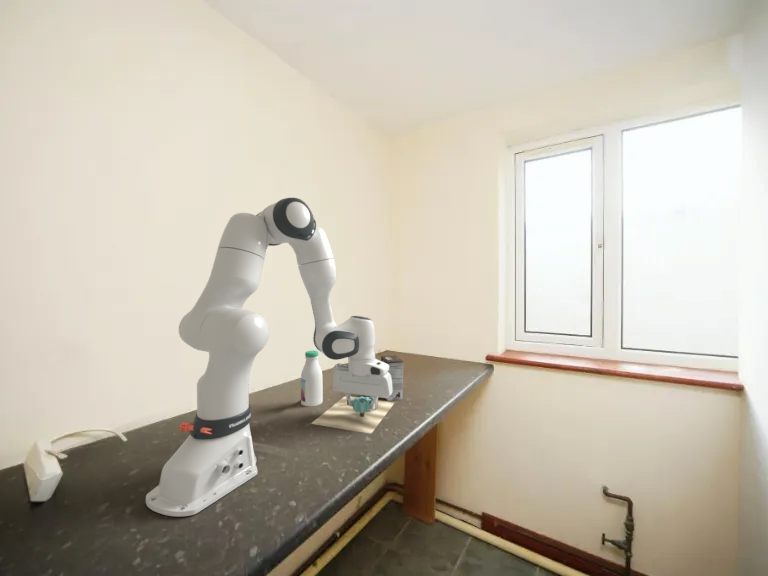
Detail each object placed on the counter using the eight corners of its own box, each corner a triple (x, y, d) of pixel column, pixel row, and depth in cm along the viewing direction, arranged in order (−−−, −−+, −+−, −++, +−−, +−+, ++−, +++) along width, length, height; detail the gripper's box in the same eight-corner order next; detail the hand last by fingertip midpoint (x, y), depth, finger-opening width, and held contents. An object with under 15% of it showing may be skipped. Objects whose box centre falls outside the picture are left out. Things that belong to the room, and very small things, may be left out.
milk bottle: (325, 402, 113) (325, 349, 113) (318, 410, 106) (318, 354, 105) (305, 401, 114) (305, 349, 114) (297, 409, 106) (297, 353, 106)
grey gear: (376, 412, 101) (376, 403, 101) (359, 410, 102) (359, 402, 102) (379, 405, 107) (379, 396, 107) (363, 404, 108) (363, 395, 108)
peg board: (371, 438, 86) (371, 416, 86) (310, 428, 93) (310, 407, 93) (394, 406, 109) (394, 388, 109) (345, 399, 116) (345, 383, 116)
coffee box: (380, 396, 119) (380, 355, 119) (395, 394, 121) (395, 354, 121) (387, 405, 111) (387, 361, 110) (403, 403, 112) (403, 360, 112)
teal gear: (367, 413, 95) (367, 404, 95) (350, 411, 97) (350, 402, 97) (373, 406, 100) (373, 397, 100) (357, 404, 102) (357, 395, 102)
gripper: (328, 365, 98) (328, 407, 99) (388, 370, 92) (388, 415, 92) (337, 360, 104) (337, 399, 105) (394, 365, 98) (394, 407, 98)
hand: (361, 407), depth 98 cm, fingers closed on teal gear, 6 cm apart
